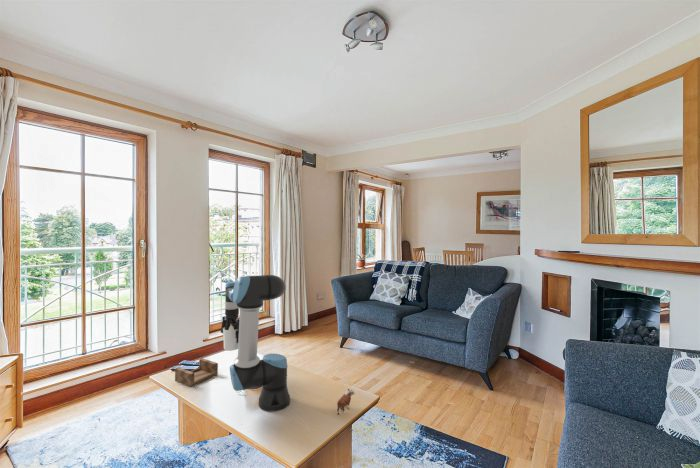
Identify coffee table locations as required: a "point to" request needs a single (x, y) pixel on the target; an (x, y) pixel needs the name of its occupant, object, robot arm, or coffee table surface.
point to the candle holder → (229, 338)
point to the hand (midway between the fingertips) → (231, 346)
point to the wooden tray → (197, 373)
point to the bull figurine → (345, 400)
